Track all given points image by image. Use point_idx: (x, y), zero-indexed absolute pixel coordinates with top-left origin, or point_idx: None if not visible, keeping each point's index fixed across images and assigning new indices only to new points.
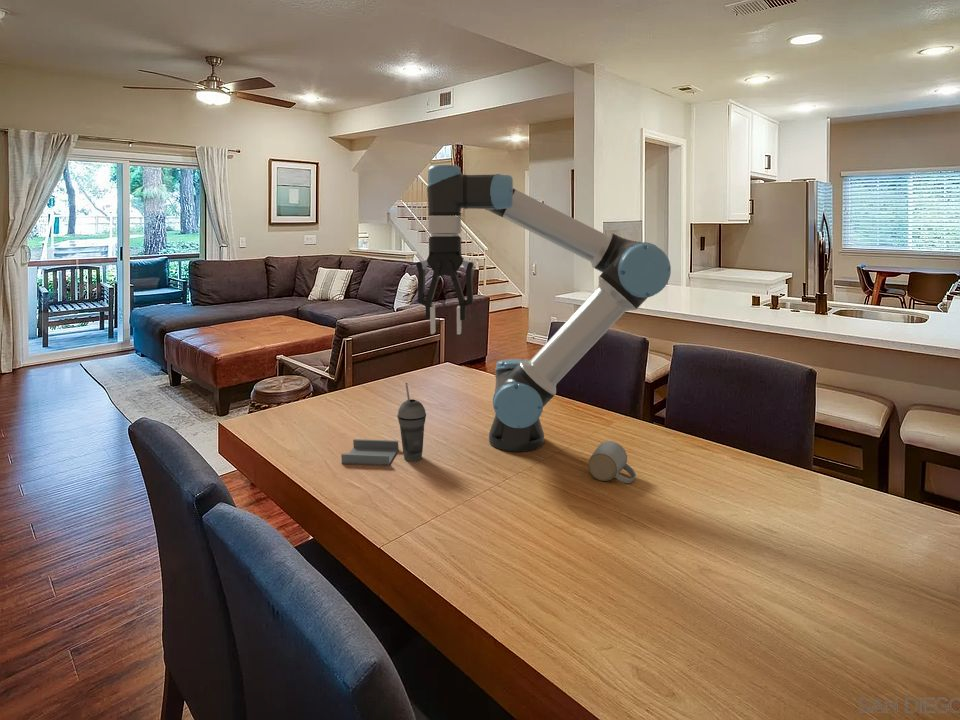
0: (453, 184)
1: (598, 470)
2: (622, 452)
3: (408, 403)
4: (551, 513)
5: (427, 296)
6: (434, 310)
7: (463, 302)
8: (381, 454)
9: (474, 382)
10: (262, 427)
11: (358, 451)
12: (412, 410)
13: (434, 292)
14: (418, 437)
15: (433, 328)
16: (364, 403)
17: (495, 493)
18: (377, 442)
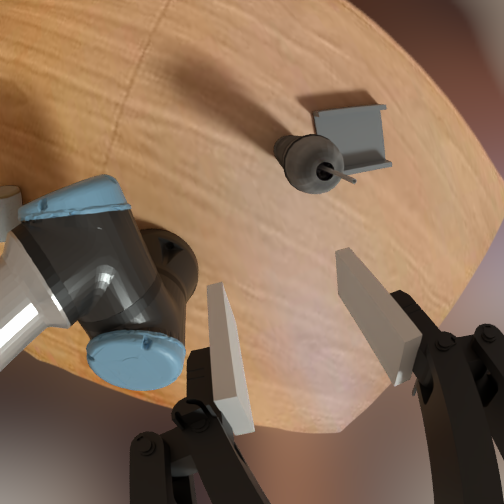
0: None
1: (8, 189)
2: None
3: (326, 156)
4: (39, 70)
5: (473, 380)
6: (385, 353)
7: (191, 439)
8: (339, 144)
9: (295, 413)
10: (486, 198)
11: (374, 146)
12: (309, 145)
13: (435, 441)
14: (283, 145)
15: (346, 265)
16: None
17: (115, 81)
18: (357, 167)
